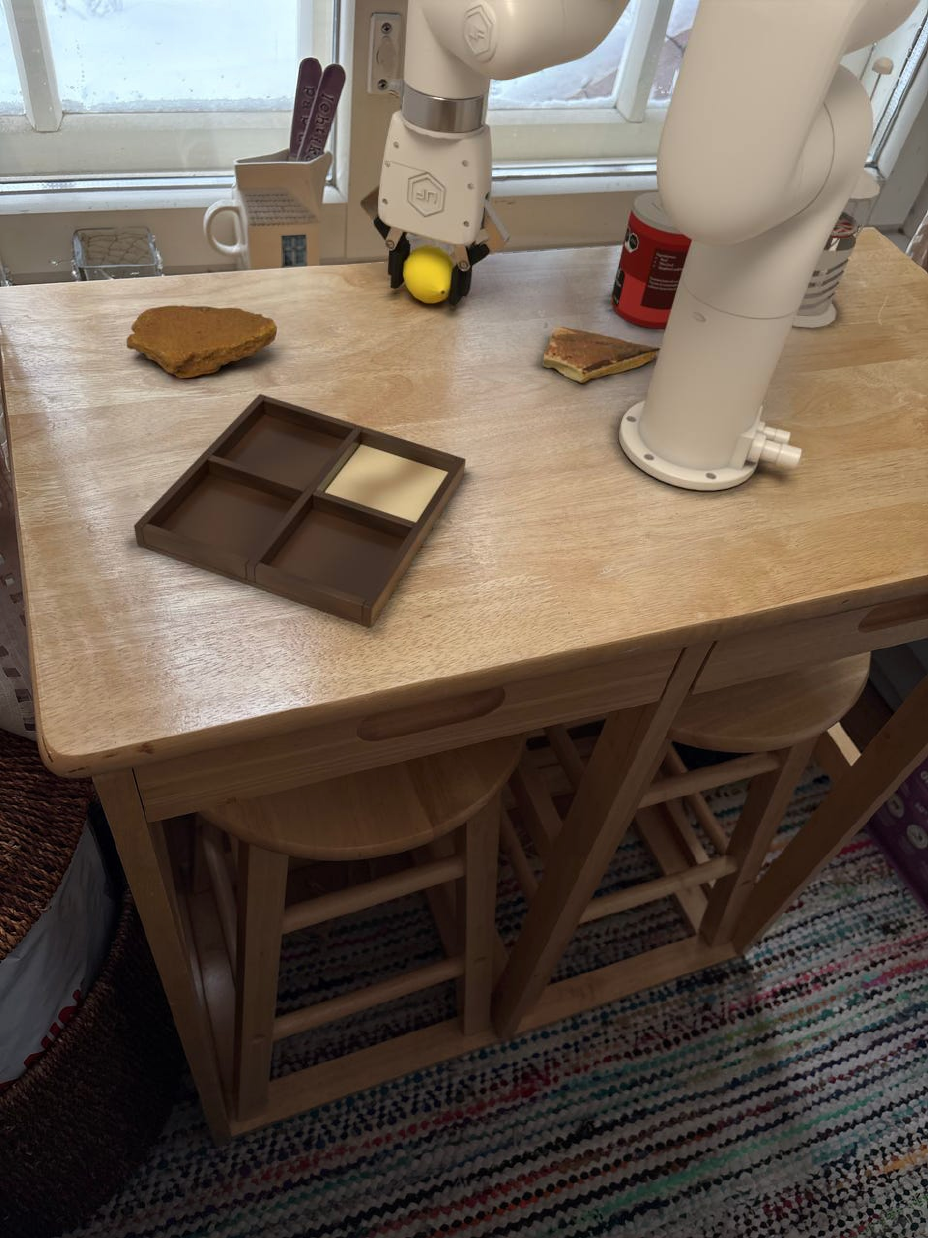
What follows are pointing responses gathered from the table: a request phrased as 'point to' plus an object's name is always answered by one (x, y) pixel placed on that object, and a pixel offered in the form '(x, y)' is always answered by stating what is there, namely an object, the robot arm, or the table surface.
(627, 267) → the canned food
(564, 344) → the pie slice
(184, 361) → the artifact
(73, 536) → the table surface
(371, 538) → the brown compartment tray
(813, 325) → the french press
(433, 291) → the lemon
